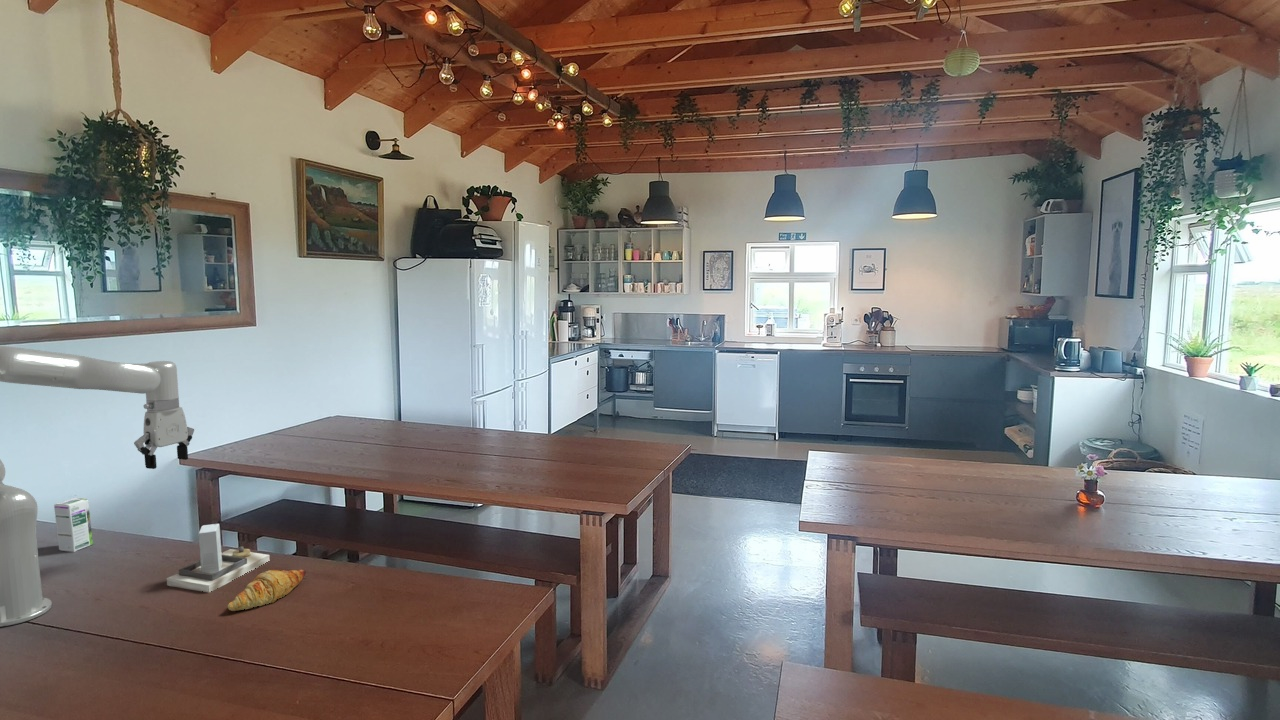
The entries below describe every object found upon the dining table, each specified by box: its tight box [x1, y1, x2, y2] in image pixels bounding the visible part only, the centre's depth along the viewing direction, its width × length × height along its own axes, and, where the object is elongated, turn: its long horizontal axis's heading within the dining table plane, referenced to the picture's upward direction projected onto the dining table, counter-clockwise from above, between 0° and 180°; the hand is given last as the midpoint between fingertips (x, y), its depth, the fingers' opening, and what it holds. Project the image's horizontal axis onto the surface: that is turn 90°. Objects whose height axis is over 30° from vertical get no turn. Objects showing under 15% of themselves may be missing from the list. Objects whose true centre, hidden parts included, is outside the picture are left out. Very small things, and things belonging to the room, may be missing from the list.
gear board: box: [166, 545, 271, 593], centre depth 185 cm, size 20×14×5 cm
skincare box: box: [198, 523, 223, 574], centre depth 182 cm, size 6×4×12 cm
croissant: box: [227, 569, 307, 612], centre depth 173 cm, size 21×10×8 cm, turn 156°
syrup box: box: [53, 497, 94, 553], centre depth 200 cm, size 6×6×14 cm
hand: (167, 463), depth 191 cm, fingers open, 9 cm apart
